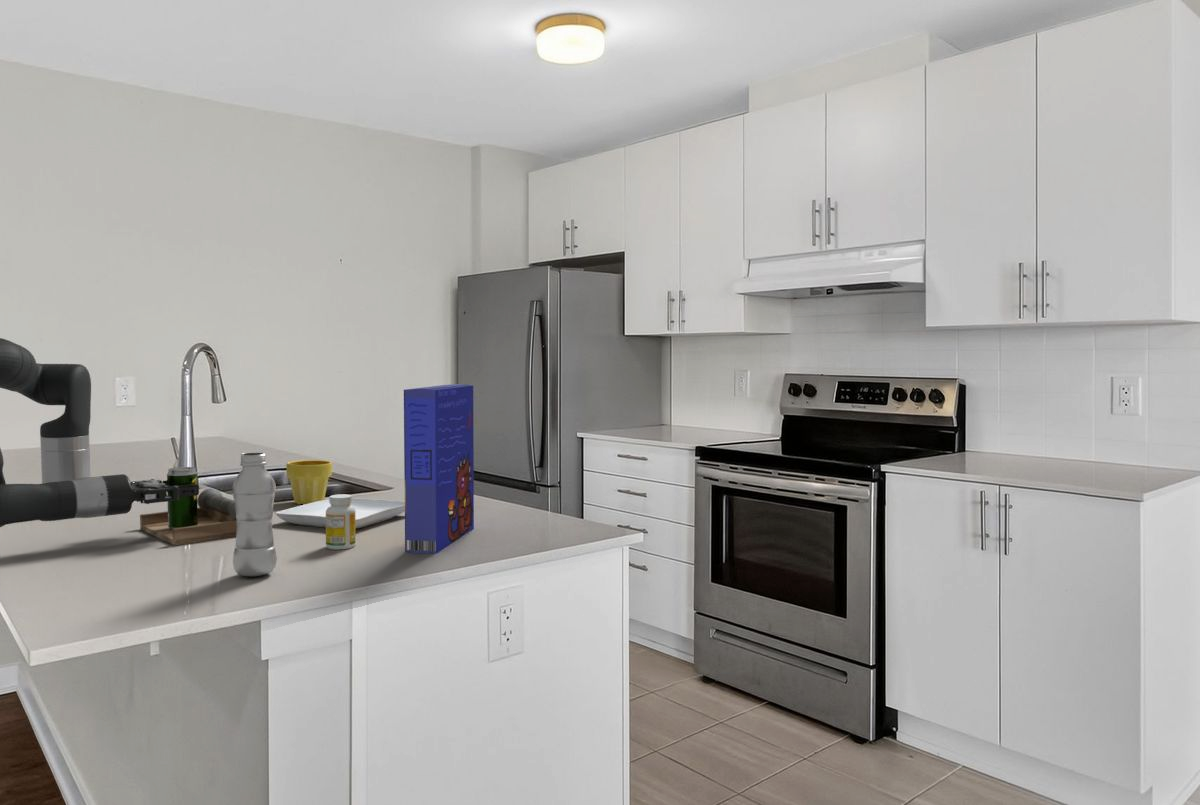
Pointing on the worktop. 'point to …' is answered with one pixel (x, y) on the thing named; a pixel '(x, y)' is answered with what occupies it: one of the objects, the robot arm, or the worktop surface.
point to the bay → (212, 521)
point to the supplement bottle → (340, 523)
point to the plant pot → (309, 479)
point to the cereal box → (438, 466)
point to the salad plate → (364, 508)
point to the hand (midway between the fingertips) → (190, 486)
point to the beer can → (182, 499)
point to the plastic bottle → (254, 517)
